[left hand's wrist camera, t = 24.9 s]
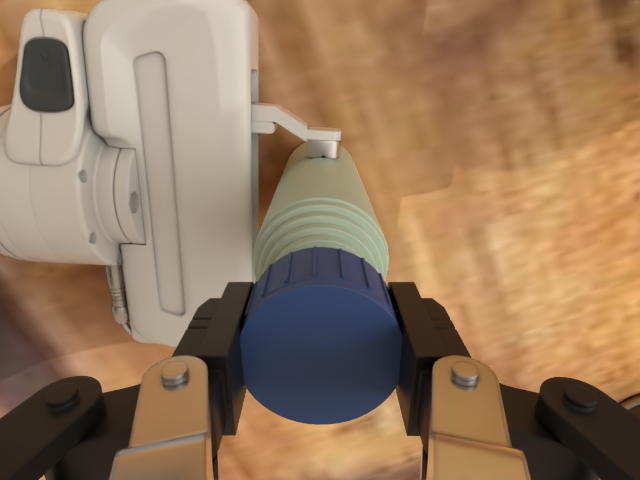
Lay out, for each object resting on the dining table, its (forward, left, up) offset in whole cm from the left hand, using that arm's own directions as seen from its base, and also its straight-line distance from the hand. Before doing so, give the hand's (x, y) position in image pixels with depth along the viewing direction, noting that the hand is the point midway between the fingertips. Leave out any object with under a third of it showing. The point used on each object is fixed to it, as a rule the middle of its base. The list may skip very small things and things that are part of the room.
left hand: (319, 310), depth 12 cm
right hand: (-1, +1, -12) cm, 12 cm away
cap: (0, 0, +2) cm, 2 cm away
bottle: (0, 0, -19) cm, 19 cm away
